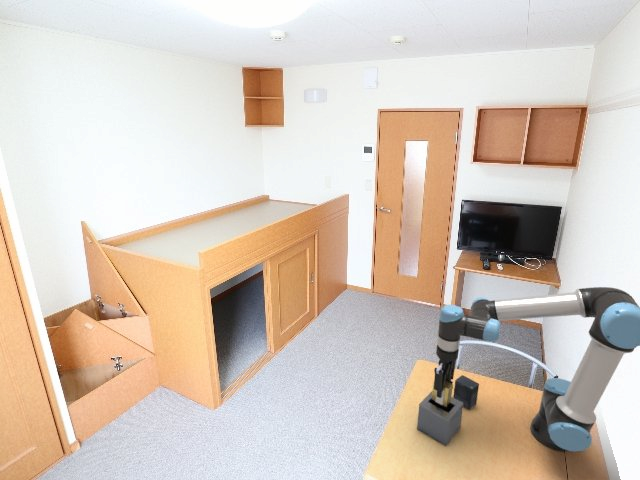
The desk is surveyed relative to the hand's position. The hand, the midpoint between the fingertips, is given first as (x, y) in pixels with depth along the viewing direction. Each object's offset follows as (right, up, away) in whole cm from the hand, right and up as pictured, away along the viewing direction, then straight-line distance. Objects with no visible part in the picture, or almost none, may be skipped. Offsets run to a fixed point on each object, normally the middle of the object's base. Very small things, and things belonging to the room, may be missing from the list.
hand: (441, 400), depth 146 cm
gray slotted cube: (0, -13, +4) cm, 14 cm away
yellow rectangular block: (0, 0, 0) cm, 0 cm away
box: (+15, -9, +18) cm, 25 cm away
